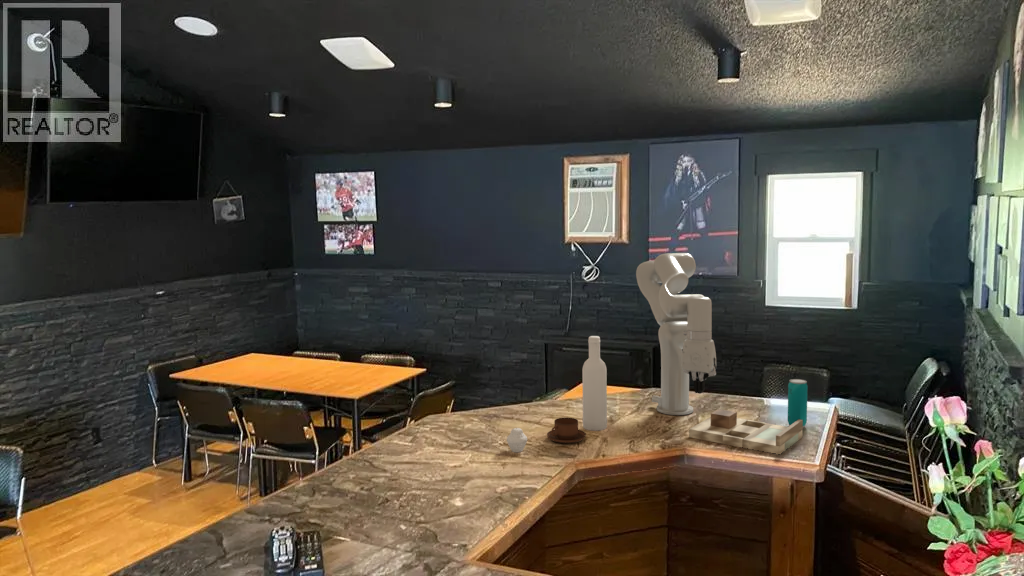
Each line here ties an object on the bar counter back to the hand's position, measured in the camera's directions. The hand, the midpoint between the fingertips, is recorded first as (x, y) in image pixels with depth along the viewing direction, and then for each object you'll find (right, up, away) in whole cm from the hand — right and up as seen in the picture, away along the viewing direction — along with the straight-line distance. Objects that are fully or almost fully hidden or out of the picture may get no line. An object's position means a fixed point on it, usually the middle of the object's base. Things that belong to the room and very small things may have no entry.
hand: (699, 392), depth 230 cm
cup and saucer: (-43, -14, -7) cm, 46 cm away
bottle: (-33, -12, +5) cm, 35 cm away
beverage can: (+32, -12, +2) cm, 34 cm away
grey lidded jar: (-58, -15, -16) cm, 63 cm away
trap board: (+12, -13, -8) cm, 19 cm away
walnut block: (+7, -10, -4) cm, 12 cm away
